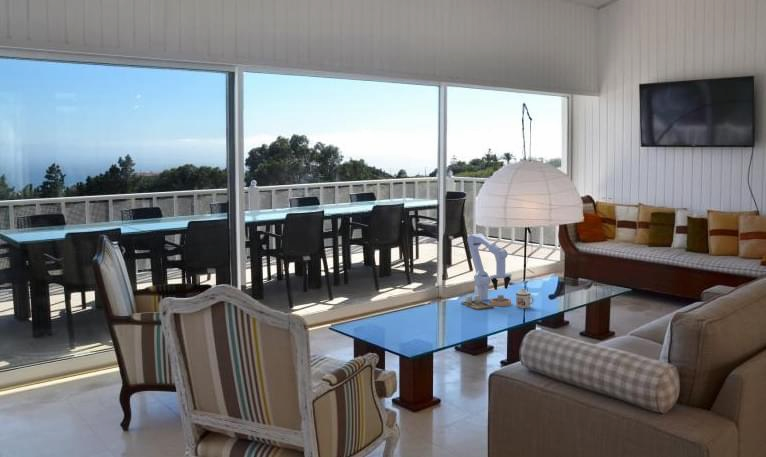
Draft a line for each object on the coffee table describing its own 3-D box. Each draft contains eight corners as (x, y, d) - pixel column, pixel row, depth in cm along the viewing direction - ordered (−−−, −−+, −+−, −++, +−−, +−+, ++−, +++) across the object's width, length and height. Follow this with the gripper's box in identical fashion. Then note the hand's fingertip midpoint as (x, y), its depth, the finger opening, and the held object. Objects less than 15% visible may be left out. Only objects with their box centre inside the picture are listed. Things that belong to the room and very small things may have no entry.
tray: (461, 304, 459) (460, 302, 458) (477, 302, 464) (477, 300, 463) (476, 311, 441) (476, 308, 440) (493, 308, 446) (493, 306, 445)
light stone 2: (473, 303, 459) (473, 295, 458) (478, 302, 460) (478, 294, 460) (476, 304, 455) (476, 296, 455) (481, 304, 457) (481, 295, 456)
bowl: (486, 303, 460) (486, 299, 459) (503, 301, 465) (503, 297, 464) (497, 307, 448) (497, 302, 448) (514, 305, 453) (514, 300, 453)
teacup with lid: (513, 307, 449) (513, 289, 448) (521, 304, 456) (521, 286, 454) (529, 309, 441) (529, 291, 440) (537, 307, 447) (537, 289, 446)
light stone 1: (464, 304, 457) (464, 296, 456) (470, 303, 458) (470, 295, 457) (468, 305, 453) (467, 297, 452) (473, 305, 454) (473, 296, 454)
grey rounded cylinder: (496, 303, 457) (496, 295, 457) (501, 303, 459) (501, 294, 458) (499, 304, 454) (499, 296, 453) (504, 304, 455) (505, 295, 454)
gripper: (494, 270, 449) (494, 291, 451) (513, 268, 455) (513, 289, 456) (488, 268, 456) (488, 289, 457) (508, 266, 461) (507, 287, 463)
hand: (500, 289), depth 457 cm, fingers open, 7 cm apart
